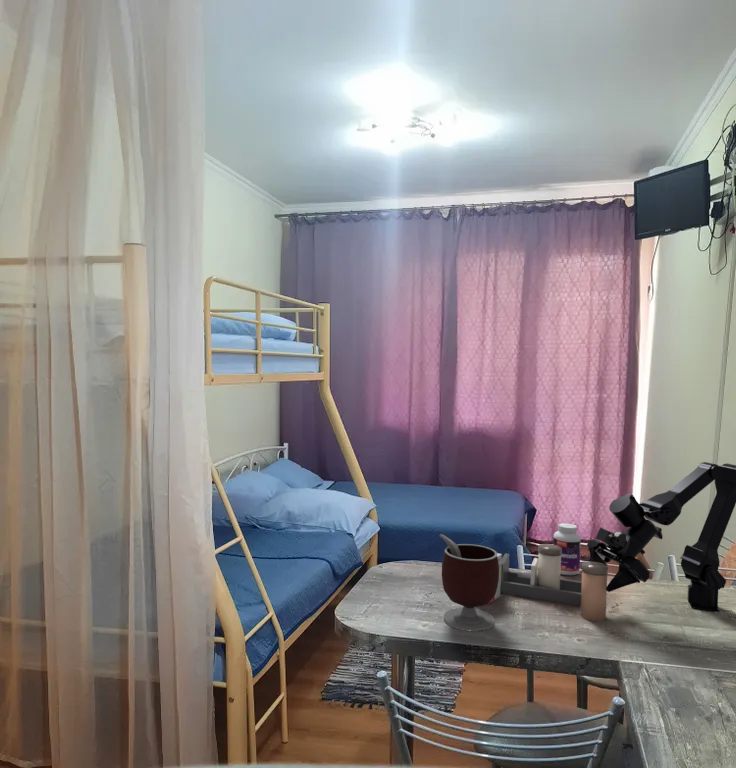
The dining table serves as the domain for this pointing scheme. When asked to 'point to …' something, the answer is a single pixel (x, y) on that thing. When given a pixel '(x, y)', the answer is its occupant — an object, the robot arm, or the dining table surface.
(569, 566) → the pill bottle
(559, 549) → the cream jar
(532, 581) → the pusher
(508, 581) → the grey jar rack
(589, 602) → the terracotta jar
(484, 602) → the mate gourd
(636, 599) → the dining table surface
